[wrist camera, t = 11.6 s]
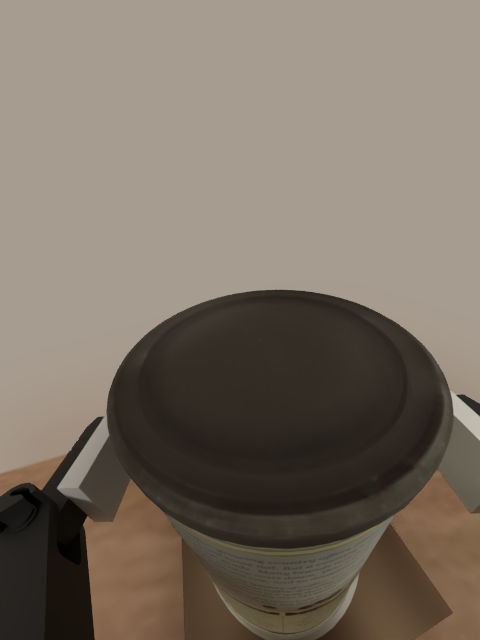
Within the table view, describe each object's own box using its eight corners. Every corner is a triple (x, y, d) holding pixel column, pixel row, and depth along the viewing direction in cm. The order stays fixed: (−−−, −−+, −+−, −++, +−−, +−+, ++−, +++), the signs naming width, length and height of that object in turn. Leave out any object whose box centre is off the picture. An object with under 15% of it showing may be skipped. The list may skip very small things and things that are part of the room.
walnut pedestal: (305, 423, 23) (306, 403, 21) (432, 622, 12) (454, 612, 10) (187, 466, 20) (178, 448, 19) (204, 775, 9) (187, 793, 8)
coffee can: (170, 514, 15) (70, 358, 8) (262, 414, 21) (249, 278, 14) (303, 748, 8) (394, 1066, 1) (380, 499, 14) (466, 318, 7)
